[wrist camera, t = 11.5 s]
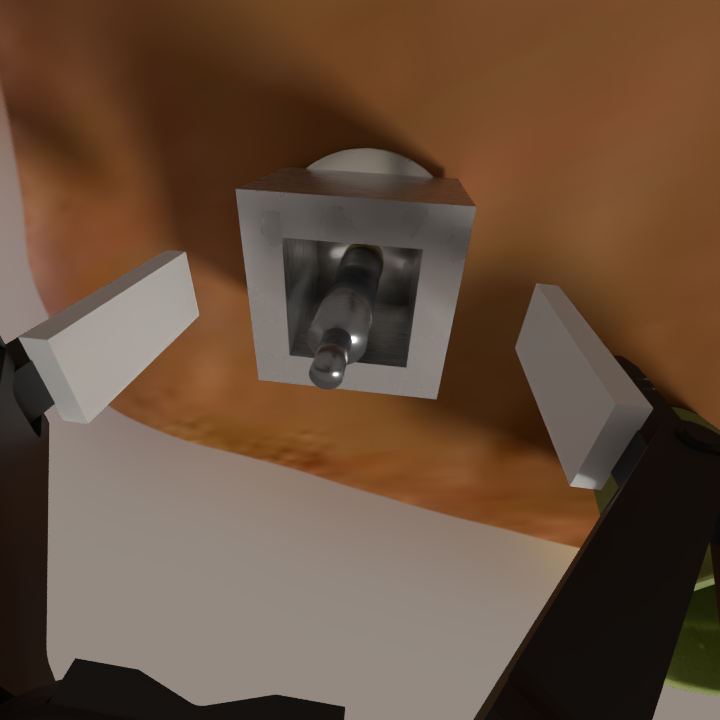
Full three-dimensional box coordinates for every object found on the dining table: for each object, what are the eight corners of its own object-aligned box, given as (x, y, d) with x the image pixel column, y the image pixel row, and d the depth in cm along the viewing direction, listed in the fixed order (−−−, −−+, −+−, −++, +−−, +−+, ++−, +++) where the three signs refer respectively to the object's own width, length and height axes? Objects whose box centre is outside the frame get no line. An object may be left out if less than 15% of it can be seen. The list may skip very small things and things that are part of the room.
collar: (285, 167, 18) (235, 188, 13) (457, 178, 17) (476, 206, 12) (293, 319, 22) (258, 379, 17) (431, 332, 22) (436, 399, 17)
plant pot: (805, 389, 21) (1108, 604, 12) (680, 514, 28) (815, 716, 19) (595, 354, 22) (732, 538, 12) (521, 486, 28) (574, 671, 19)
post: (264, 140, 18) (107, 172, 9) (482, 155, 17) (562, 206, 8) (279, 328, 23) (193, 470, 14) (444, 345, 23) (465, 505, 13)
